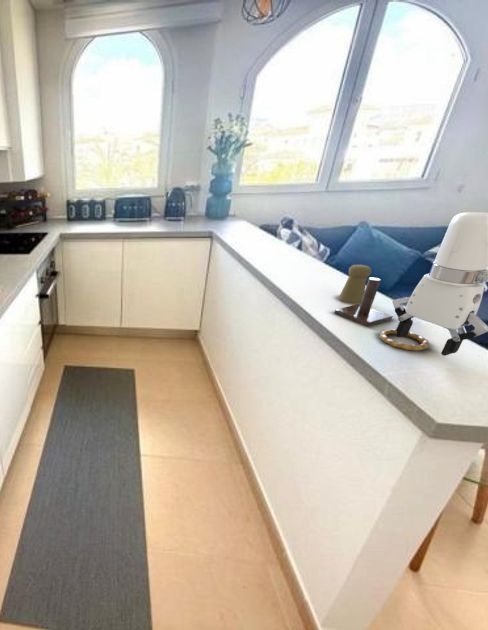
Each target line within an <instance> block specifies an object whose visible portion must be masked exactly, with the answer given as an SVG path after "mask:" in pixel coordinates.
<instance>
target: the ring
mask: <svg viewBox="0 0 488 630" xmlns="http://www.w3.org/2000/svg"><path fill="white" fill-rule="evenodd" d="M396 333H397V331H396V329H385V330H382V331H380V333H379V339H380V340H382V341H383V342H384V343H385V344H388V345H390V346H392V347H394V348H398V349H402V350H405V351H406V350H407V351H418V352H419V351H424V350H427V349H428V348H429V347H430V341H429V340H428V339H426V338H425V337H423V336H422V335H420V334H417V333H414V332H411V331H409V333H408V335H406V336H405V337H407V338H410V339H414V340H417V342H419V343H421V344H417V345H416V344H406V343H403V342H398V341H396V340H393V339H391V338H389V337H388V335H396Z"/></svg>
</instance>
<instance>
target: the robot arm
mask: <svg viewBox="0 0 488 630" xmlns="http://www.w3.org/2000/svg"><path fill="white" fill-rule="evenodd" d="M430 267H431V268H430V270H429V273H426V274H424V275H423V276H422V278H421V279H420V280H419V282H418V284H417V285H416V286H415V288H414V290H413V291H412V293H411V295H410V296H406V297H400V298H396V299H393V300H392V305H393V309H394V313H395V314H396V316H397V321H399V322H398V324H397V327H396V329H395V330H396V331H397V333H396V334H395V337H397V338H402V337H407V336H406V335H408V333H409V332H410V331H411V328H412V325H413V324H414V322H413V321H414V320H413V319H414V318H415V319H418V320H421V321H425V322H427V323H431V324H433V325H436V326H439V327H442V328H445V329H448V331H449V334H450V337H451V338H447V339H446V342H445V344H444V345H443V348H442V350H441V352H440V354H441V355H442V356H445V357H446V356H449V355H452V354H456V353H458V351H459V350H460V347H461V346H462V343H463V341H465V340H469V339H473V338H476V337H479V336H481V335H483V334H485V333H488V325H487V323H485V321H483V320H482V319H481V318H480V317H479V316H478V311H479V309H480V306H481V303H482V299H483V295H484V289H485V284H484V283H483V282H485V283H488V273H487V270H488V269H487V268H488V212H481V211H469V212H461V213H457V214H456V215H454V216H453V217H452V219H451V220H450V222H449V224H448V227H447V229H446V232H445V234H444V237H443V239H442V241H441V244H440V246H439V248H438V251H437V254H436V256H435V258H434V261H433V262H432V265H431V266H430ZM404 304H406V306H405V307H404ZM469 326H473V328H474V329H473V330H470V331H468V332H467V330H466V328H465V327H469Z"/></svg>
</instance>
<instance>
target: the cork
mask: <svg viewBox="0 0 488 630" xmlns="http://www.w3.org/2000/svg"><path fill="white" fill-rule="evenodd" d="M371 274H372V268H371V267H370V266H368V265H364V264H353V265H351V266H350V267H349V268H348V275H349V276H348V277H347V280H346V282H345V284H344V286H343V287H342V290H341V291H340V294H339V295H338V300H339V301H340V302H343V303H347V304H351V305H356V304H361V301H362V298H363V295H364V292H365V289H366V286H367V281H368V277H369V278H370V276H371Z"/></svg>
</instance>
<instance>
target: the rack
mask: <svg viewBox="0 0 488 630" xmlns="http://www.w3.org/2000/svg"><path fill="white" fill-rule="evenodd" d="M380 283H381V279H380V278H378V277H369V278H368V279H367V282H366V286H365V292H364V295H363V298H362V301H361V303H360V304H351V305H348V306H344V307H340V308H336V309H335V310H334V314H336V315H338V316H340V317H343V318H345V319H347V320H349V321H353V322H355V323H358V324H359V325H360V324H361V325H363V326H365V327H371V326H374V325H377V324H381V323H385V322H389V321H392V319H393V317H394V316H393V315H391V314H388V313H385V312H382V311H380V310H377V309H374V308H372V307H373V303H374V301H375V297H376V295H377V292H378V290H379V287H380Z"/></svg>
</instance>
